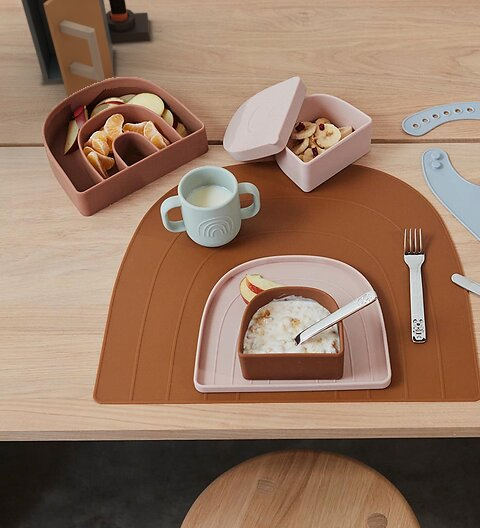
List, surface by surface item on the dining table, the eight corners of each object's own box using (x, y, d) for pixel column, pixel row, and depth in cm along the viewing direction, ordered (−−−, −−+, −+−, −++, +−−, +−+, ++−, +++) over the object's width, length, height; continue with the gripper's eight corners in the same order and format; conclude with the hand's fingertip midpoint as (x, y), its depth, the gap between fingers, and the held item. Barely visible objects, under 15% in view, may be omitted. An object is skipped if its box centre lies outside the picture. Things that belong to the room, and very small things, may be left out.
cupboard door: (143, 88, 146) (125, -24, 128) (105, 128, 138) (80, 14, 120) (111, 79, 148) (89, -33, 130) (72, 117, 140) (43, 3, 122)
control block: (94, 45, 156) (91, 28, 153) (95, 25, 161) (91, 8, 158) (149, 41, 157) (147, 24, 154) (148, 21, 162) (146, 4, 159)
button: (111, 24, 155) (110, 17, 154) (111, 15, 158) (110, 8, 156) (128, 23, 156) (127, 16, 154) (127, 14, 158) (126, 7, 157)
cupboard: (113, 78, 149) (91, -36, 130) (44, 83, 147) (12, -31, 129) (113, 51, 155) (92, -61, 136) (47, 56, 153) (16, -57, 135)
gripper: (85, -91, 145) (101, -5, 160) (83, -56, 136) (101, 32, 151) (122, -93, 146) (135, -7, 160) (123, -58, 137) (137, 29, 151)
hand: (119, 11), depth 155 cm, fingers closed
